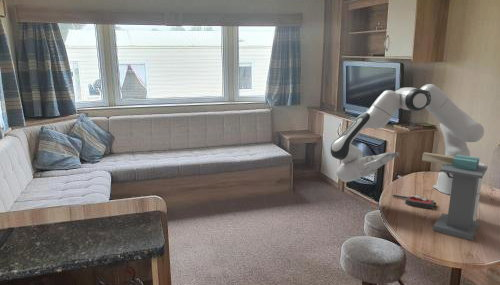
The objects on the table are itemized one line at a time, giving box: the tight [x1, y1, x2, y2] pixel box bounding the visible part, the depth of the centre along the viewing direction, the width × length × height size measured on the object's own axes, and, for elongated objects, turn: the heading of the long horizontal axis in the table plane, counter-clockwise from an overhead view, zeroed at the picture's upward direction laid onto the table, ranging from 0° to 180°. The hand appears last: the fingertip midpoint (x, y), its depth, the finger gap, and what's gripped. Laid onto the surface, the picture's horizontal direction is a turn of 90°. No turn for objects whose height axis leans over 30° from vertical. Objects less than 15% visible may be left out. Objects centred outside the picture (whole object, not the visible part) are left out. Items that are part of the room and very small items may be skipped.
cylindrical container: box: [473, 161, 485, 221], centre depth 162 cm, size 7×7×25 cm
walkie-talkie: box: [392, 194, 437, 210], centre depth 182 cm, size 9×4×20 cm
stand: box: [433, 164, 488, 241], centre depth 152 cm, size 16×14×26 cm
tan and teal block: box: [421, 151, 480, 171], centre depth 154 cm, size 8×20×4 cm, turn 52°
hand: (395, 155), depth 169 cm, fingers open, 8 cm apart
